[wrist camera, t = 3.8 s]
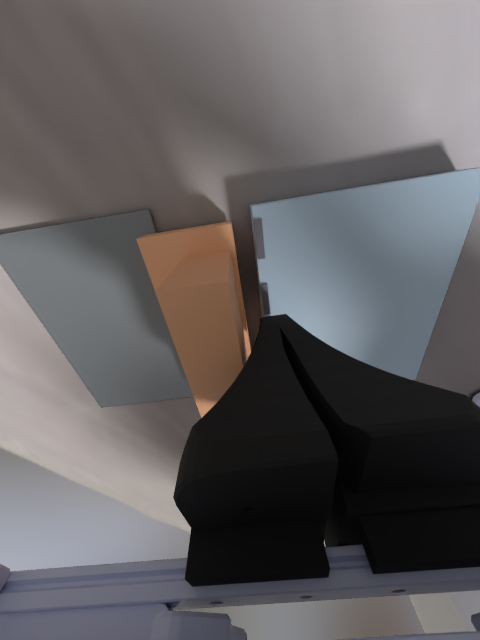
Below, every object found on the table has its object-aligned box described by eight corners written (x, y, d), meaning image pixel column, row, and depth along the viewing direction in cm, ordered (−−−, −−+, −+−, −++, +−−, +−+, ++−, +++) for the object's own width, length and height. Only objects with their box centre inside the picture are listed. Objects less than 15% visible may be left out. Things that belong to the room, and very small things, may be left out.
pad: (149, 209, 10) (147, 209, 10) (207, 392, 16) (207, 395, 15) (-14, 236, 10) (-19, 237, 10) (102, 405, 16) (101, 407, 16)
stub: (231, 220, 10) (228, 240, 5) (255, 379, 15) (264, 461, 10) (146, 234, 10) (72, 264, 5) (198, 386, 15) (182, 469, 10)
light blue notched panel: (457, 170, 9) (493, 165, 8) (400, 364, 15) (416, 380, 13) (249, 205, 10) (251, 205, 8) (268, 380, 15) (272, 397, 14)
